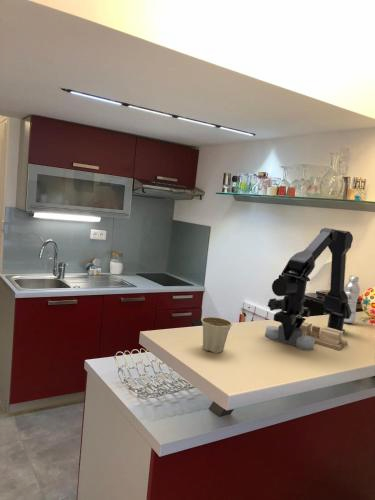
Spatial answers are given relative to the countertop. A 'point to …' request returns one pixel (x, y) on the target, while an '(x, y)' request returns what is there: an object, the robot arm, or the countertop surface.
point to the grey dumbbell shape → (295, 338)
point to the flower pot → (215, 333)
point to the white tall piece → (352, 296)
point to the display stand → (324, 335)
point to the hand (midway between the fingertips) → (289, 338)
